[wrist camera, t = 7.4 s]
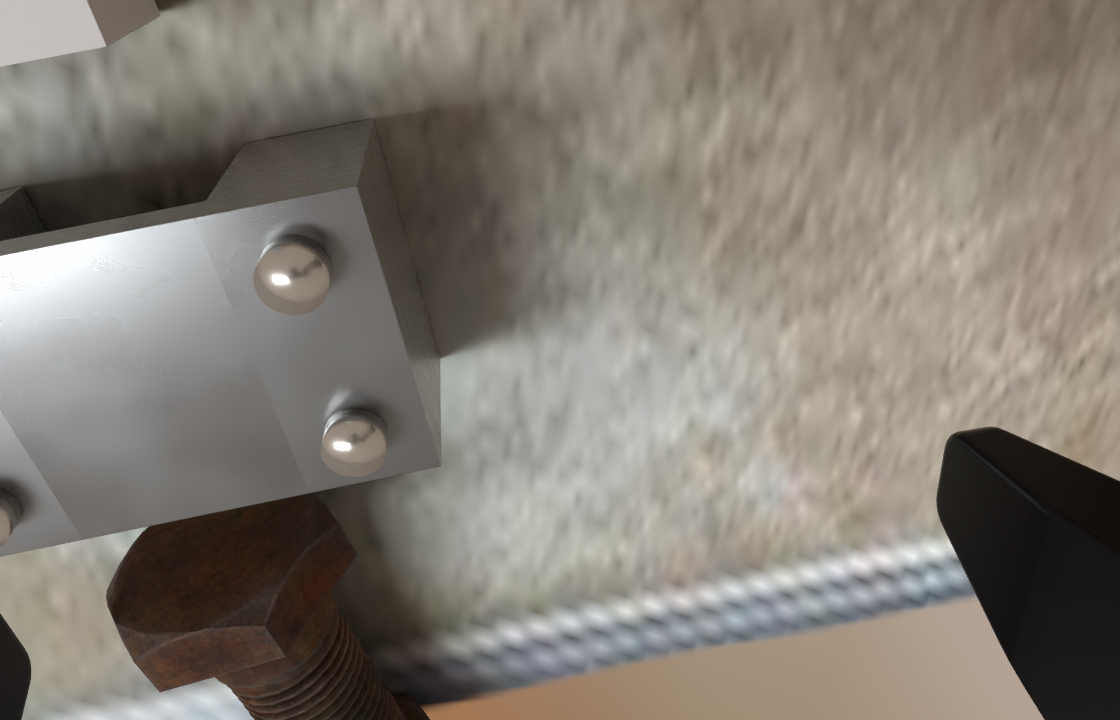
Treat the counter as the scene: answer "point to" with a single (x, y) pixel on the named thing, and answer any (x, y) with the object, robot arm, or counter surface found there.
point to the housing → (213, 347)
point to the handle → (66, 26)
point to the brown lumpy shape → (252, 612)
